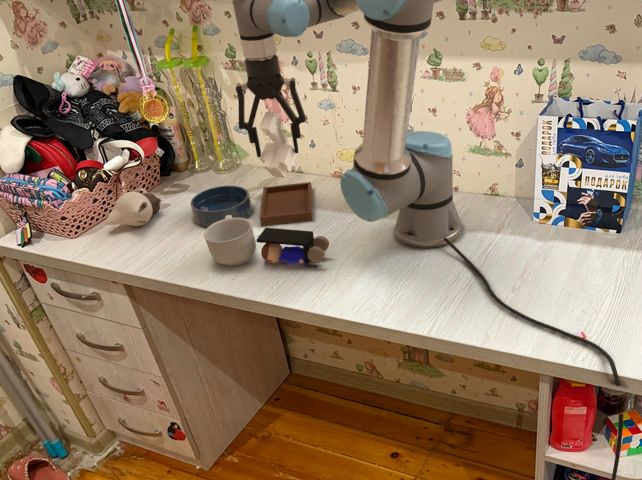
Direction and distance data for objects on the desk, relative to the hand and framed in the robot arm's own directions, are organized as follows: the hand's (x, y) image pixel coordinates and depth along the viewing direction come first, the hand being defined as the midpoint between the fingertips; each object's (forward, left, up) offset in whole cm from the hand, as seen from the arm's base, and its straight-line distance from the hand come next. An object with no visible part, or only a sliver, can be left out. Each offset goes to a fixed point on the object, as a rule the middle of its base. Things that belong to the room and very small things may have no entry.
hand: (278, 153), depth 170 cm
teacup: (-22, +11, -15) cm, 29 cm away
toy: (+1, +38, -15) cm, 41 cm away
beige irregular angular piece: (0, 0, -6) cm, 6 cm away
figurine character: (-28, -3, -15) cm, 32 cm away
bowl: (0, +16, -15) cm, 22 cm away
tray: (0, 0, -15) cm, 15 cm away
